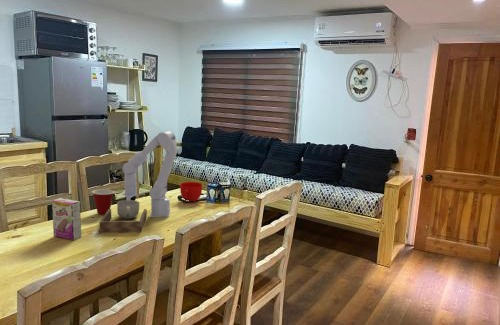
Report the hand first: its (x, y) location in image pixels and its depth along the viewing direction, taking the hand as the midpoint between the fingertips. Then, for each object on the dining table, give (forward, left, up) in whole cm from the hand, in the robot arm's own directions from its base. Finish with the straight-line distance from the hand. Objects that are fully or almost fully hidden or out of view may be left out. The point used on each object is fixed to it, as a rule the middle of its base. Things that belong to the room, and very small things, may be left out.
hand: (130, 210), depth 205 cm
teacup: (0, +9, -2) cm, 9 cm away
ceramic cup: (-31, -20, -2) cm, 37 cm away
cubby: (0, +19, -1) cm, 19 cm away
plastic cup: (+13, +1, -2) cm, 14 cm away
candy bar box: (+21, +34, -2) cm, 40 cm away
